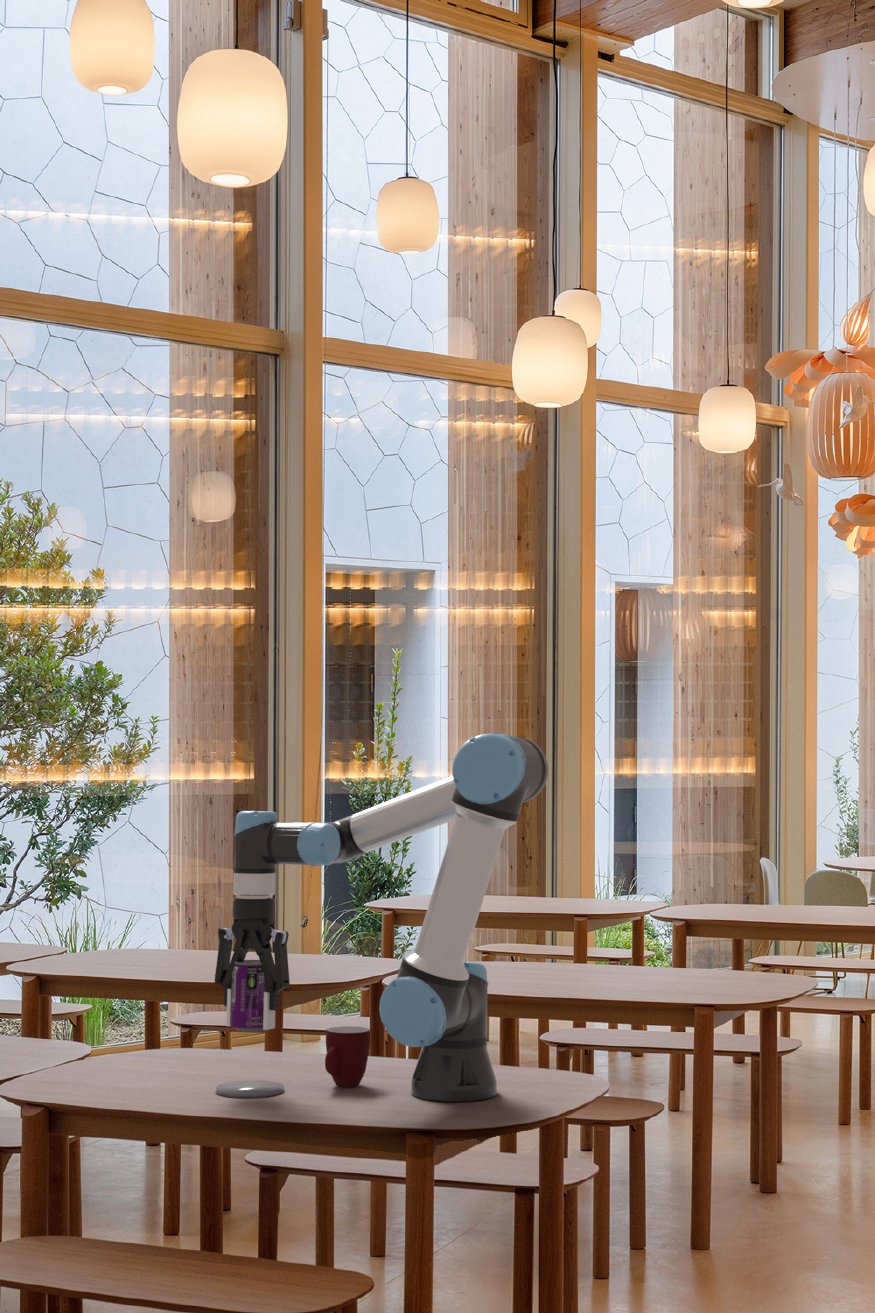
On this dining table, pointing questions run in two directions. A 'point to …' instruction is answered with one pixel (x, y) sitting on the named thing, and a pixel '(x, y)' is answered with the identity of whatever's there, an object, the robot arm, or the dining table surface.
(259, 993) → the beverage can
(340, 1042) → the mug
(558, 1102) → the dining table surface
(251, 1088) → the coaster
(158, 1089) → the dining table surface
